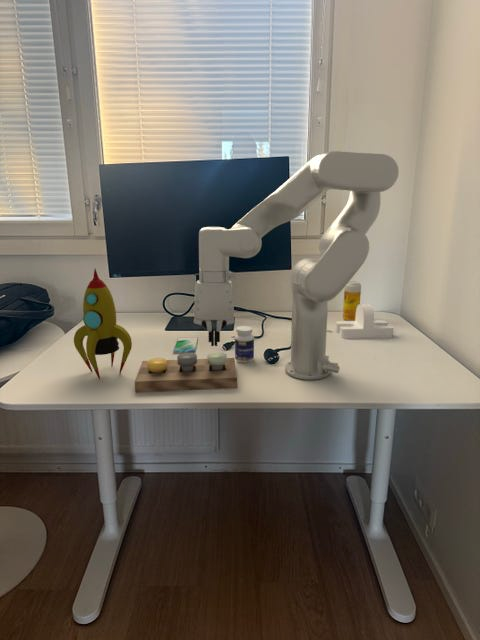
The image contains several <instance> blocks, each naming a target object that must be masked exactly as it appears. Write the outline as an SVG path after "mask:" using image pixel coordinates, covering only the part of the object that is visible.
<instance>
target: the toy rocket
mask: <svg viewBox="0 0 480 640" xmlns="http://www.w3.org/2000/svg"><path fill="white" fill-rule="evenodd" d="M115 306H116V305H115V302H114V298H113V295H112V293H111V291H110V289H109V287H108V286H107V285H106V284H105V282H104V281H103V279H100V278H99V275H98V272H97V269H96V268H94V271H93V278H92V279H91V280H90V281H89V283H88V285H87V287H86V288H85V291H84V296H83V303H82V313H83V317H82V322H83V325H82V326H81V327H79V328H78V329H77V330H76V331H75V333H74V336H73V343H74V344H73V345H74V347H75V349H76V352H78V354H79V355H80V357H81V359H82V361H83V362H84V363H85V365H86V366H87V368H88V369H89V371H90V373H93V371H94V372H95V374H96V376H97V378H98V379H99V380H100V379H101V378H100V377H101V375H100V373H99V372H100V371H99V367H98V366H99V365H98V361H97V358H96V356H104V355H110V358H111V359H110V360H111V362H110V364H111V368H113V367H114V366H113V365H114V359H115V354H116V352H117V351H119V350H120V346H119V344H120V343H119V341H118V340H120V341H121V343H122V346H123V351H122V357H121V363H120V367H119V374H121V373H122V371H123V369H124V366H125V364H126V361H127V359H128V358H129V355H130V353H131V350H132V348H133V345H132V344H133V343H132V342H133V341H132V337H131V335H130V333H129V331H127V330H126V328H124V327H123V326H121V325H120V324H117V310H116V307H115ZM86 337H87V338H86ZM85 338H86V343H85V346H86V349H85V347H84V343H83V342H84V339H85Z"/></svg>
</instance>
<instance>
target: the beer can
mask: <svg viewBox="0 0 480 640" xmlns="http://www.w3.org/2000/svg"><path fill="white" fill-rule="evenodd" d="M361 284H362V283H361V282H360V281H356V280H350V281H349V282H348V283H347V284H346V286H345V287H344V288H343V289H344V290H343V293H344V294H343V305H342V306H343V308H342V319H343V321H355V316H356V309H357V306H358V305H361V293H362V292H361V291H362V285H361Z"/></svg>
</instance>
